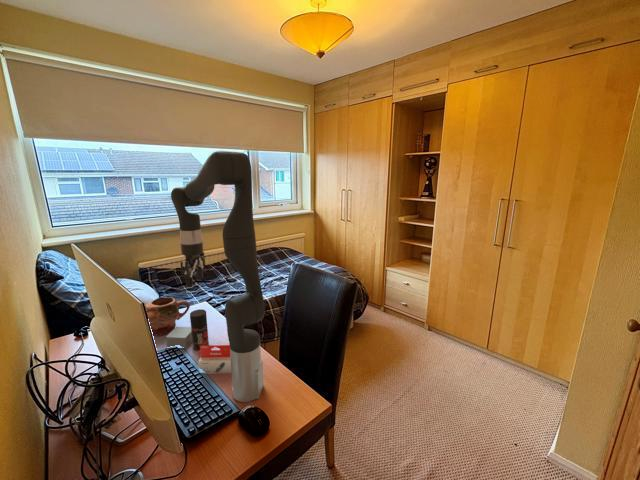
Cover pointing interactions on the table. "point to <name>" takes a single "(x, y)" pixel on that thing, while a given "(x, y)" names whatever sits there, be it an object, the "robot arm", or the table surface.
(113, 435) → the table surface
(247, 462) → the table surface
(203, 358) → the ink cartridge box
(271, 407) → the table surface
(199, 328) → the deodorant
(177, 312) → the decorated ceramic mug
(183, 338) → the grey block
